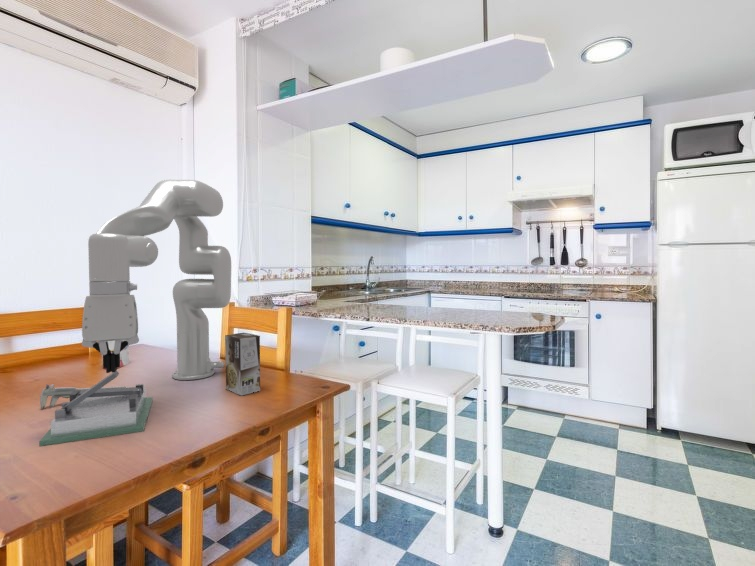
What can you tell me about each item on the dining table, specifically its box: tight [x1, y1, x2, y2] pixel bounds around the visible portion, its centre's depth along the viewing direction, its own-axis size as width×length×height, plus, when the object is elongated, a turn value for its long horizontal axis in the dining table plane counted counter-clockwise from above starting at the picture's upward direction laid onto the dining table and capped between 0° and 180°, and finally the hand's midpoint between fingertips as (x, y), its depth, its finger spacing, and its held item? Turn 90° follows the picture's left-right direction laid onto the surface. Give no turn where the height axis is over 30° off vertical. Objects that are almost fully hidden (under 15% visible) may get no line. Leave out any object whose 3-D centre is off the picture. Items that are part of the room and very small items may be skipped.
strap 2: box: [78, 386, 142, 398], centre depth 98 cm, size 13×3×1 cm, turn 115°
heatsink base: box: [38, 383, 154, 447], centre depth 94 cm, size 18×22×6 cm
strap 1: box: [60, 370, 120, 412], centre depth 89 cm, size 13×3×1 cm
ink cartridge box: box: [108, 339, 130, 370], centre depth 144 cm, size 9×5×15 cm, turn 6°
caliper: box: [39, 383, 127, 410], centre depth 109 cm, size 20×1×6 cm, turn 144°
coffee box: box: [224, 332, 261, 397], centre depth 117 cm, size 9×6×16 cm
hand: (111, 371), depth 91 cm, fingers closed
